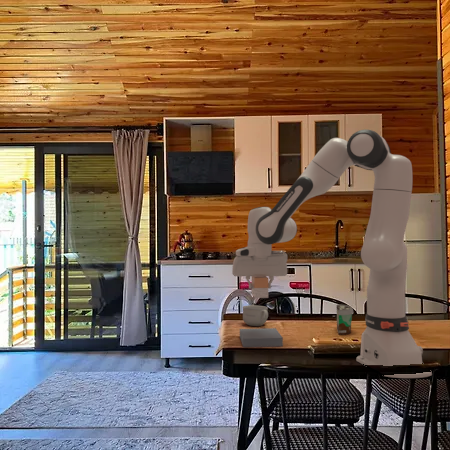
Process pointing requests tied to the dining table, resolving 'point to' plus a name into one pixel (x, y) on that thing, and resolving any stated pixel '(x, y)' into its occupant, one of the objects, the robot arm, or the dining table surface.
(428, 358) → the dining table surface
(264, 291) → the housing base
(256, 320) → the teacup
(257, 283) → the housing cover
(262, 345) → the stand
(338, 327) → the food container
